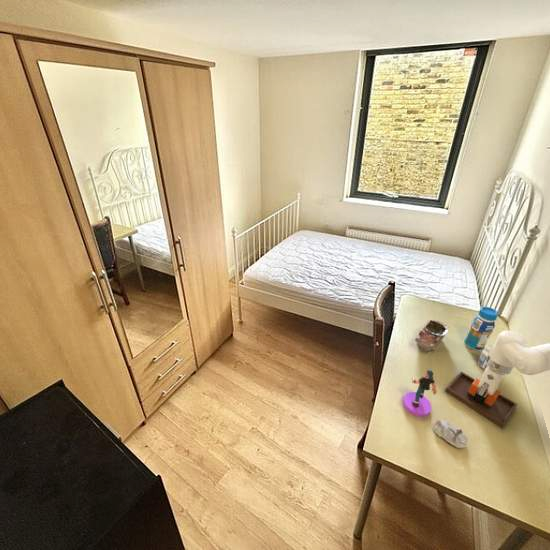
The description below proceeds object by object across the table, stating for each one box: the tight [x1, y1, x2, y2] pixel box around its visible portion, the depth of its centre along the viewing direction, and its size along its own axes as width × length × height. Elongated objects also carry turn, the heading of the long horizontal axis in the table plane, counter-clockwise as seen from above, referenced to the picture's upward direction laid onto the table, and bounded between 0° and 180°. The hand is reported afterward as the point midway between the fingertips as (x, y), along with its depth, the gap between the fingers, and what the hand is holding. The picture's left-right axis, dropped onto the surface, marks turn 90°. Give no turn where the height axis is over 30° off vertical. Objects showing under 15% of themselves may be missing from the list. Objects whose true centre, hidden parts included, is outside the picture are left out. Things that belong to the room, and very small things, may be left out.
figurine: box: [402, 369, 438, 418], centre depth 104 cm, size 9×9×18 cm
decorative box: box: [414, 318, 450, 352], centre depth 134 cm, size 13×20×10 cm, turn 128°
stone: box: [433, 419, 468, 449], centre depth 98 cm, size 10×7×3 cm
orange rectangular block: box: [467, 378, 501, 408], centre depth 109 cm, size 8×4×6 cm, turn 39°
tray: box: [444, 371, 518, 429], centre depth 111 cm, size 20×14×2 cm
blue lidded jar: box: [463, 306, 499, 352], centre depth 133 cm, size 8×8×20 cm
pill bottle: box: [476, 344, 494, 370], centre depth 124 cm, size 6×5×10 cm
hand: (480, 397), depth 111 cm, fingers closed on orange rectangular block, 4 cm apart
